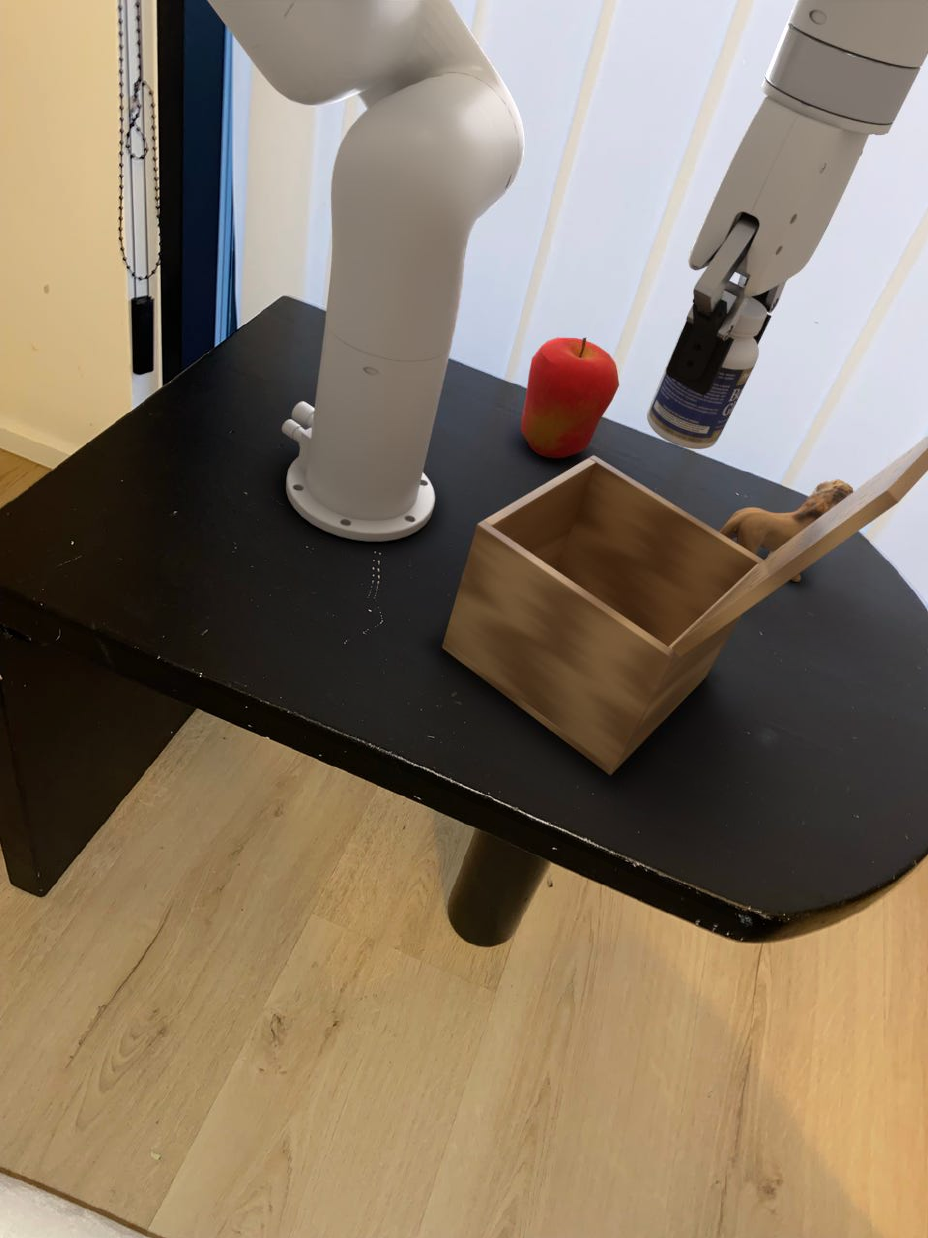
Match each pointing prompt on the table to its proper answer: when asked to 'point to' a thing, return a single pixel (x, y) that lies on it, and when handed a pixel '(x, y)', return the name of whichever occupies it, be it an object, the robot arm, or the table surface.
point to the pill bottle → (705, 416)
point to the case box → (593, 607)
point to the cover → (814, 542)
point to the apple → (567, 396)
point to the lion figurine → (783, 520)
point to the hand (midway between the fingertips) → (707, 368)
